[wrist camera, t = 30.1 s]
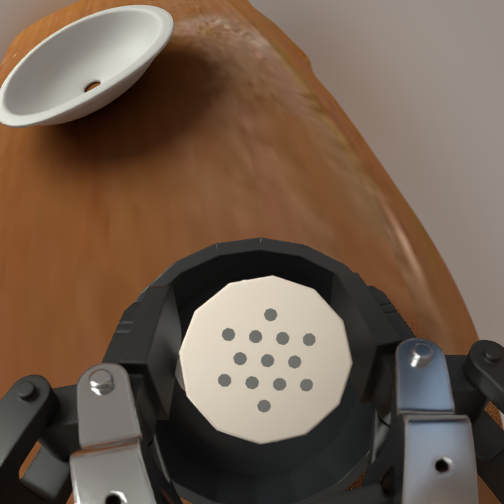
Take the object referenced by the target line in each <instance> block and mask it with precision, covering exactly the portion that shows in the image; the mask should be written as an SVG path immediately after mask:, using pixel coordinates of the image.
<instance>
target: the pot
mask: <svg viewBox="0 0 504 504" xmlns="http://www.w3.org/2000/svg"><path fill="white" fill-rule="evenodd" d="M344 273H353V272H352V271H351V270H350V269H349V268H348V267H347V266H345V265H344V264H342V263H340V262H338V261H336V260H334V259H332V258H330V257H328V256H326V255H324V254H322V253H320V252H318V251H316V250H314V249H312V248H310V247H308V246H306V245H305V246H304V245H303V244H297V243H291V242H284V241H278V240H272V239H266V238H253V239H245V240H238V241H231V242H223V243H216V244H213V245H211V246H209V247H207V248H205V249H202V250H200V251H198V252H196V253H194V254H192V255H189V256H187V257H185V258H183V259H181V260H179V261H176V262H175V263H173V264H172V265H171V266H170V267H169V268H168V269H167V270H165V271H164V272H163V273H162V274H161V275H160V276H159V277H158V278H157V279H155V280H154V281H153V282H152V283H151V284H150V285H149V286H168V285H171V286H172V288H173V291H174V296H175V301H176V306H177V310H178V315H179V320H180V325H181V346H182V343H183V341H184V338H185V335H186V333H187V330H188V328H189V325H190V323H191V320H192V317H193V315H194V312H195V311H196V310H197V309H198V308H199V307H201V306H202V305H203V304H204V303H206V302H207V301H208V300H209V299H211V298H212V297H213V296H214V295H215V294H217V293H218V292H219V291H220V290H222V289H223V288H224V287H225V286H227V285H228V284H229V283H234V282H239V281H242V280H250V279H256V278H262V277H267V276H276V277H279V278H282V279H285V280H288V281H291V282H294V283H297V284H300V285H303V286H306V287H309V288H312V289H314V290H315V291H316V292H317V293H318V294H319V295H320V296H321V297H322V298H323V299H324V300H325V301H326V302H327V304H328V305H329V306H330V301H331V291H332V281H333V277H334V275H335V274H344ZM149 286H148V287H149ZM366 286H367V285H366ZM148 287H147V288H148ZM147 288H146V289H144V290H143V291H142V293H140V295H139V297H138V298H137V300H136V302H142V300H143V298H144V296H145V293H146V291H147ZM181 346H180V349H181ZM179 357H180V355H179ZM179 357H178V359H179ZM374 411H375V406H374V403H373V402H368V403H364V404H360V402H359V399H358V397H357V394H356V391H355V389H354V386H353V384H352V381H351V379H350V376H349V377H348V380H347V383H346V386H345V390H344V393H343V396H342V399H341V401H340V404H339V406H337V407H336V408H335V409H334V410H333V411H332V412H331V413H330V414H329V415H328V416H327V417H326V418H324V419H323V420H322V421H321V422H320V423H319V424H318V425H317V426H315V427H314V428H313V429H312V430H311V431H310V432H309V433H307V434H306V435H303V436H299V437H295V438H290V439H286V440H281V441H277V442H271V443H266V444H257V443H254V442H251V441H247V440H244V439H241V438H238V437H235V436H232V435H229V434H226V433H223V432H220V431H217V430H216V429H215V428H214V427H213V426H212V425H211V423H210V422H209V421H208V420H207V419H206V418H205V417H204V416H203V414H202V413H201V412H200V411H199V410H198V409H197V408H196V406H195V405H194V404H193V403H192V402H191V401H190V399H189V398H188V397H187V395H186V391H185V390H183V389H182V388H181V386H180V384H179V382H178V380H177V378H176V376H175V381H174V387H173V394H172V400H171V407H170V413H169V420H157V421H156V427H155V433H156V435H157V438H158V441H159V444H160V447H161V450H162V453H163V457H164V459H165V462H166V465H167V468H168V471H169V474H170V477H171V479H172V482H173V485H174V487H175V489H176V492H177V494H178V495H179V497H181V498H183V499H185V500H187V501H189V502H191V503H193V504H309V503H312V502H314V501H317V500H319V499H322V498H324V497H326V496H329V495H331V494H333V493H338V492H342V491H344V490H346V489H347V488H348V487H349V486H350V485H351V484H352V483H354V482H355V481H356V480H357V479H358V478H359V477H360V476H361V475H362V474H363V473H364V472H365V471H366V470H367V466H368V458H369V449H370V440H371V429H372V417H373V413H374Z"/></svg>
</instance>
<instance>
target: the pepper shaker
mask: <svg viewBox="0 0 504 504" xmlns="http://www.w3.org/2000/svg"><path fill="white" fill-rule="evenodd" d="M179 355H180V357H179V359H178V360H177V365H176V371H175V376H176V378H177V380H178V382H179V384H180V386H181V388H182V389H183V390H185V391H186V395H187V397H188V398H189V399H190V401H191V402H192V403H193V404H194V405H195V406H196V408H197V409H198V410H199V411H200V412H201V413H202V414H203V416H204V417H205V418H206V419H207V420H208V421H209V422H210V423H211V425H212V426H213V427H214V428H215V429H216V430H217V431H220V432H223V433H226V434H229V435H232V436H235V437H238V438H241V439H244V440H247V441H251V442H254V443H257V444H266V443H271V442H277V441H281V440H286V439H290V438H295V437H299V436H303V435H306V434H307V433H309V432H310V431H311V430H312V429H313V428H314V427H315V426H317V425H318V424H319V423H320V422H321V421H322V420H323V419H324V418H326V417H327V416H328V415H329V414H330V413H331V412H332V411H333V410H334V409H335V408H336V407H337V406H339V404H340V401H341V399H342V396H343V393H344V390H345V386H346V383H347V380H348V377H349V374H350V371H351V367H352V364H353V361H352V357H351V352H350V348H349V343H348V339H347V334H346V330H345V326H344V321H343V320H342V319H341V318H340V317H339V316H338V314H337V313H336V312H335V311H334V310H333V309H332V308H331V307H330V306H329V305H328V304H327V302H326V301H325V300H324V299H323V298H322V297H321V296H320V295H319V294H318V293H317V292H316V291H315V290H314V289H312V288H309V287H306V286H303V285H300V284H297V283H294V282H291V281H288V280H285V279H282V278H279V277H276V276H267V277H262V278H256V279H250V280H242V281H239V282H234V283H229V284H228V285H227V286H225V287H224V288H223V289H222V290H220V291H219V292H218V293H217V294H215V295H214V296H213V297H212V298H211V299H209V300H208V301H207V302H206V303H204V304H203V305H202V306H201V307H199V308H198V309H197V310H196V311H195V312H194V315H193V317H192V320H191V323H190V325H189V328H188V330H187V333H186V335H185V338H184V341H183V343H182V346H181V349H180V351H179Z"/></svg>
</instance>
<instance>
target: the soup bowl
mask: <svg viewBox="0 0 504 504" xmlns="http://www.w3.org/2000/svg"><path fill="white" fill-rule="evenodd" d="M173 30H174V21H173V18H172V17H171V15H170V14H169V13H168V12H167V11H165V10H163V9H161V8H158V7H154V6H148V5H130V6H122V7H116V8H112V9H108V10H104V11H101V12H97V13H95V14H92V15H89V16H87V17H84V18H82V19H79V20H77V21H75V22H73V23H71V24H69V25H67V26H65V27H64V28H62V29H60V30H59V31H57V32H55V33H54V34H52V35H51V36H49V37H48V38H46V39H45V40H44V41H42V42H41V43H40V44H38V45H37V46H36V47H35V48H34V49H32V50H31V51H30V52H29V53H28V54H27V55H26V56H25V57H24V58H23V59H22V60H21V61H20V62H19V63H18V64H17V65H16V67H15V68H14V69H13V70H12V71H11V73H10V74H9V76H8V77H7V78H6V80H5V82H4V83H3V85H2V87H1V89H0V122H1V123H2V124H3V125H5V126H8V127H12V128H25V127H31V126H35V125H55V124H61V123H66V122H70V121H73V120H76V119H79V118H81V117H84V116H86V115H89V114H91V113H93V112H95V111H97V110H99V109H101V108H102V107H104V106H106V105H107V104H109V103H110V102H112V101H113V100H115V99H116V98H118V97H119V96H120V95H122V94H123V93H124V92H125V91H127V90H128V89H129V88H130V87H131V86H132V85H133V84H134V83H135V82H136V81H137V80H138V79H139V78H140V77H141V76H142V75H143V73H144V72H145V71H146V70H147V68H148V67H149V65H150V64H151V62H152V61H153V59H154V58H155V57H156V56H157V55H158V54H159V53H160V52H161V51H162V50H163V48H164V47H165V46H166V44H167V43H168V42H169V40H170V38H171V36H172V33H173ZM94 82H100V83H101V84H100V85H99V86H97V87H95V88H94V89H92V90H90V91H88V92H84V90H85V88H86V87H87V86H88V85H90V84H91V83H94Z"/></svg>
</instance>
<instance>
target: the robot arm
mask: <svg viewBox="0 0 504 504" xmlns="http://www.w3.org/2000/svg"><path fill="white" fill-rule="evenodd" d="M330 307H331V308H332V309H333V310H334V311H335V312H336V313H337V314H338V316H339V317H340V318H341V319H342V320H343V321H344V326H345V330H346V334H347V339H348V343H349V348H350V352H351V357H352V361H353V364H352V367H351V371H350V374H349V376H350V379H351V381H352V384H353V386H354V389H355V391H356V394H357V397H358V399H359V402H360V404H364V403H368V402H373V403H374V406H375V411H374V413H373V417H372V429H371V440H370V449H369V458H368V466H367V471H366V475H365V478H364V480H363V483H362V487H359V488H355V489H351V490H347V491H342V492H338V493H333V494H331V495H329V496H326V497H324V498H322V499H319V500H317V501H314V502H312V503H309V504H478V481H477V473H478V474H479V476H480V477H481V478H482V479H483V481H484V482H485V483H486V484H487V486H488V487H489V488H490V489H491V491H492V492H493V493H494V494H495V496H496V497H497V498H498V499H499V501H500V502H501V503H502V504H504V430H503V429H502V428H501V427H500V426H499V425H498V424H497V423H496V422H495V421H494V420H493V419H492V417H491V416H490V415H489V414H488V413H487V412H486V411H485V410H484V409H485V408H486V406H487V405H488V403H489V402H490V401H491V402H492V403H493V404H494V405H495V406H496V407H497V408H498V409H499V410H500V411H501V412H502V413H503V414H504V347H502V346H501V345H500V344H498V343H496V342H493V341H488V340H480V341H477V342H475V343H474V344H473V345H472V346H471V349H470V351H469V353H468V355H444V353H443V351H442V350H441V348H440V347H439V346H437V345H436V344H435V343H433V342H431V341H429V340H426V339H421V338H416V337H415V335H414V334H413V332H412V331H411V329H410V328H409V327H408V325H407V324H406V322H405V321H404V320H403V318H402V317H401V315H400V314H399V313H398V312H397V310H396V309H395V307H394V306H393V304H392V305H391V302H390V300H389V299H388V298H387V296H386V295H385V294H384V293H383V292H382V291H380V290H378V289H377V288H375V287H374V286H366V284H365V283H364V281H363V280H362V279H361V277H360V276H359V274H358V273H344V274H335V275H334V277H333V281H332V291H331V301H330ZM119 323H120V324H118V326H117V328H116V333H114V335H113V337H112V340H111V342H110V344H109V347H108V349H107V351H106V354H105V356H104V358H103V361H102V363H100V364H96V365H94V366H92V367H90V368H88V369H87V370H85V371H84V372H83V373H82V374H81V376H80V377H79V379H78V382H77V384H76V385H71V386H65V387H59V388H53V389H52V387H51V386H50V384H49V382H48V381H47V380H46V379H45V378H44V377H42V376H40V375H29V376H26V377H23V378H21V379H20V380H18V381H17V382H16V383H15V384H14V385H13V386H12V387H11V388H10V390H9V391H8V392H7V393H6V395H5V396H4V397H3V398H2V400H1V401H0V504H66V502H67V500H68V498H69V497H70V495H71V493H72V491H73V494H74V501H75V504H183V503H182V501H181V499H180V497H179V495H178V494H177V492H176V489H175V487H174V485H173V482H172V479H171V477H170V474H169V471H168V468H167V465H166V462H165V459H164V457H163V453H162V450H161V447H160V444H159V441H158V438H157V435H156V433H155V427H156V421H157V420H169V413H170V407H171V400H172V394H173V387H174V381H175V371H176V365H177V360H178V357H179V351H180V346H181V325H180V320H179V315H178V310H177V306H176V301H175V296H174V291H173V288H172V286H171V285H168V286H149V287H148V288H147V291H146V293H145V296H144V298H143V300H142V302H134V303H133V304H132V305H131V306H130V307H128V308H127V309H126V310H125V311H124V313H123V315H122V317H121V320H120V322H119ZM37 441H38V442H39V443H40V444H41V445H42V447H41V448H40V450H39V451H38V453H37V455H36V456H35V458H34V459H33V461H32V463H31V464H30V466H29V468H28V469H27V471H26V473H25V474H24V476H23V477H22V478H21V479H19V469H20V467H21V465H22V464H23V462H24V460H25V459H26V457H27V456H28V454H29V452H30V451H31V449H32V448H33V446H34V445H35V443H36V442H37Z"/></svg>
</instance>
